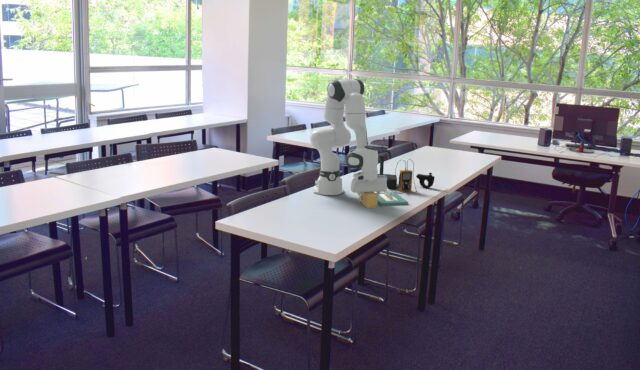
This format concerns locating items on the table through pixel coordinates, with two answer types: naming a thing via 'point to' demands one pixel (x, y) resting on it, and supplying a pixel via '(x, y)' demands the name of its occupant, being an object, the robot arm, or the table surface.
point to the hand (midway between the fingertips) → (368, 199)
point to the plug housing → (369, 199)
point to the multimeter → (405, 179)
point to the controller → (425, 177)
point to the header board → (400, 200)
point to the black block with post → (388, 175)
